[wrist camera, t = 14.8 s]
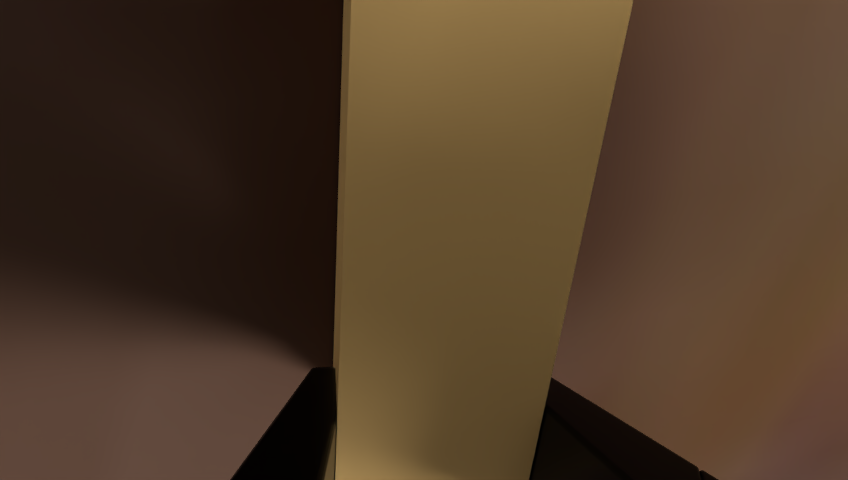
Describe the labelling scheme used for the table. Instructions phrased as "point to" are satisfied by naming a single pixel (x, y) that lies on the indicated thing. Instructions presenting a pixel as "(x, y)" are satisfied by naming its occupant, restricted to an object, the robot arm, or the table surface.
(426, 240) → the plug
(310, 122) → the table surface
